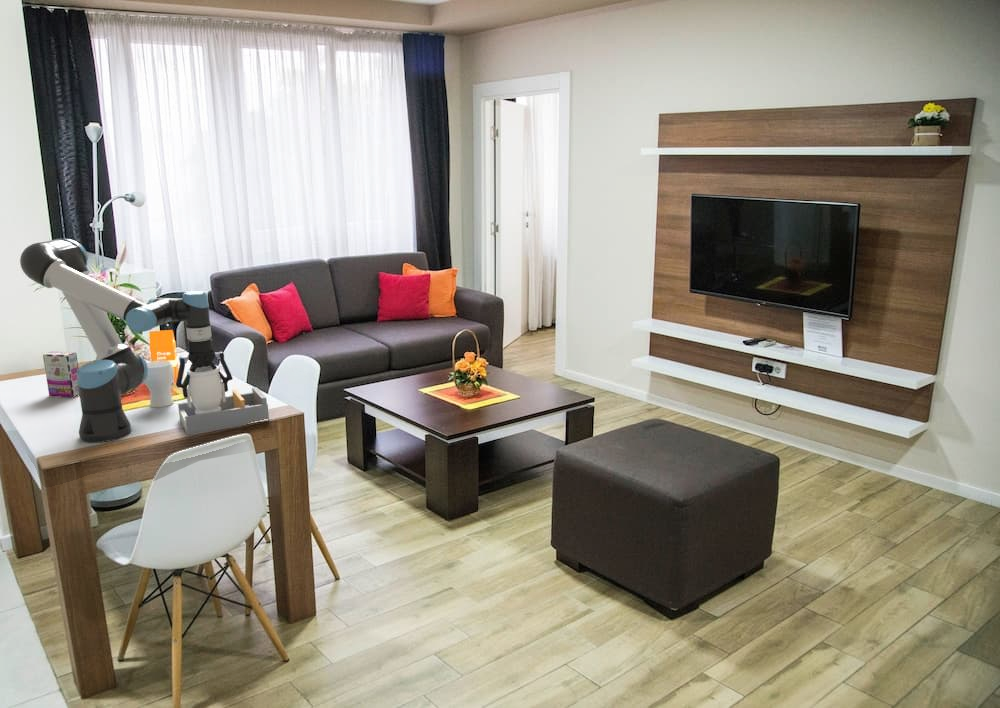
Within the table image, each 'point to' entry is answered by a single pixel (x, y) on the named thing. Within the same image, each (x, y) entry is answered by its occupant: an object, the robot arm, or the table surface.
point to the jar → (205, 389)
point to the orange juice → (164, 348)
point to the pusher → (238, 400)
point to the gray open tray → (225, 414)
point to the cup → (160, 383)
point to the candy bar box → (61, 373)
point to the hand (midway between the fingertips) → (207, 403)
